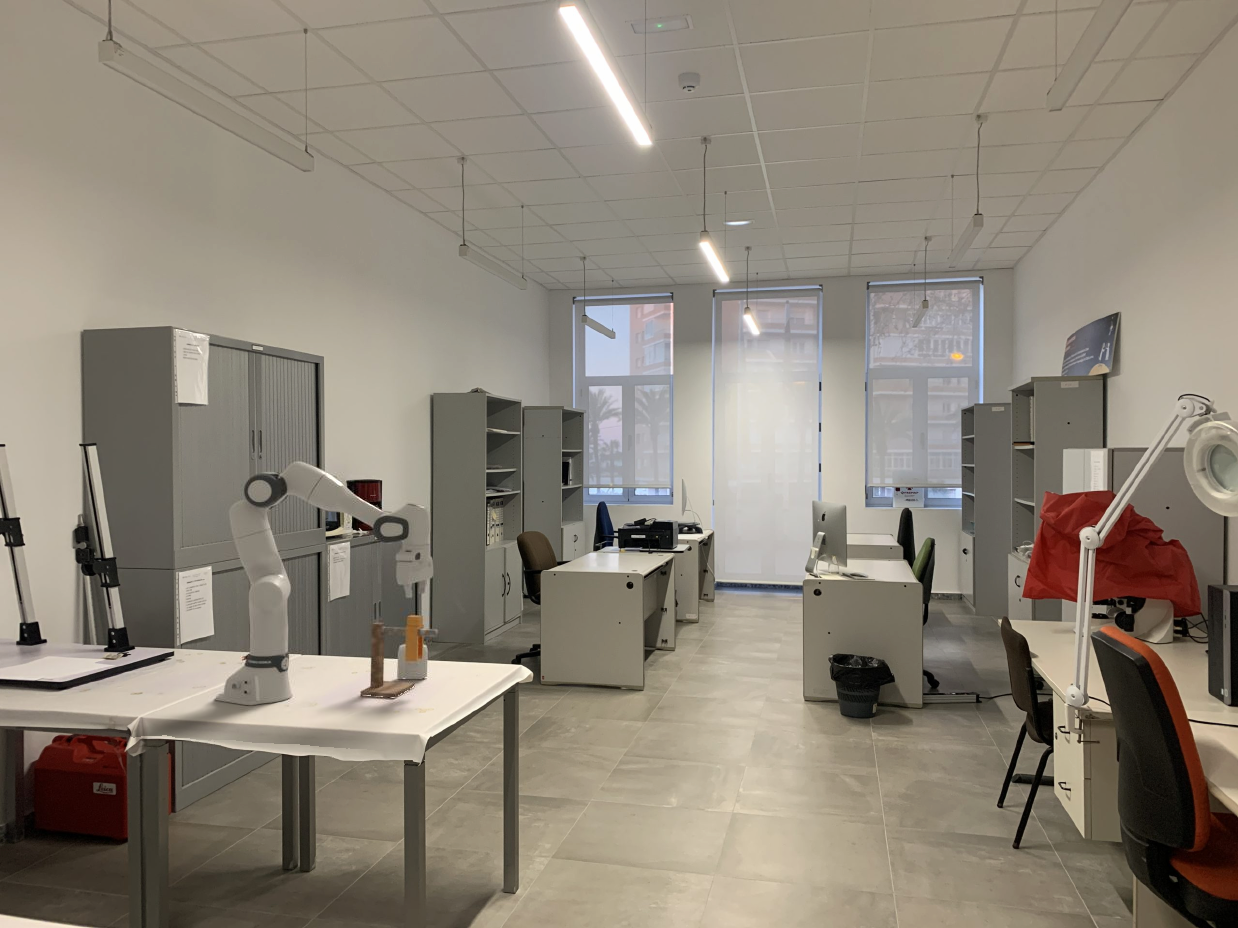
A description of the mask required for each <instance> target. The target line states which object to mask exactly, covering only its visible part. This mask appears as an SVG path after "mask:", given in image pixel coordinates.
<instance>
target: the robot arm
mask: <svg viewBox="0 0 1238 928" xmlns="http://www.w3.org/2000/svg"><path fill="white" fill-rule="evenodd" d="M243 488H244V489H243V493H244V494H243V495H244V497H245V498H244V499H241V500H239V501H238V500H237V501H236V502H235V503H234V504H232V505H231V506H230V508H229V511H228V514H229V523H230V528H231V529H230V530H231V533H232V537H233V540H234V541H233V542H234V544H235V546H236V550H237V554H238V557H239V561H240V563H241V565H242V566H243V569H244V570H245V573H246V575H247V577H248V579H249V583H250V585H251V586H250V589H249V591H248V613H249V625H250V628H249V629H250V635H249V639H250V640H249V653H248V654H246V655H244V656H242V657H241V658H242V659H241V661H245V662H244V665H243V666H242V667H240V668H239V669H238V670H236V671H235V672H234V673H232V674H231V675H230V676H229V677H228V678H227V679H226V681H225V684H224V689H223V691H222V692H220V693H218V694H217V695H216V696H215V701H218V702H225V703H230V704H231V703H232V704H238V705H243V706H244V705H246V706H255V705H260V704H268V703H269V704H270V703H276V702H281V701H284V700H287V699H290V698H291V697H293V693H292V690H291V685H290V677H289V666H290V652H289V650H288V648H289V621H288V620H289V617H288V599H289V597H290V594H291V591H292V590H291V589H292V587H291V586H292V585H291V583H290V580H289V576H288V574H287V571H286V568H285V567H284V563H283V560H282V558H281V556H280V554H279V550H278V548H277V545H276V542H275V538H274V535H273V532H272V529H271V525H270V523H269V522H270V521H269V519H268V512H269V510H271V509H273V508H275V507H276V506H277V505H280V504H281V503H283V502H284V501H285V500H286V499H287V498H288V496H289V495H291V496H295V497H297V498H299V499H301V500H303V501H305V502H307V504H310V505H312V506H314V507H317V508H319V509H322V510H325V511H327V512H337V513H342V514H346V515H350V516H352V517H353V518H355V519H357V520H359V521H361V522H363V523H364V524H366V525H368V526H370V527H371V528H372V534H373V536H374V538H376V540H377V541H379V542H380V543H382V544H387V545H388V544H394V543H396V542H397V543H398V542H402V547H401V549H400V550H399V551H398V552H397V553H396V555H395V560H396V569H395V570H396V581H397V584H398V585H400V586H403V589H404V591H405V592H404V593H405V598H406V599H410V598H412V597H414V596H413V595H414V594H413V593H414V592H413V590H412V587H413V585H412V584H415V583H418V582H419V583H420V584H419V588H418V592H417V593H418V594H419V595H420V594H421V595H422V594H425V593H426V588H427V585H428V580H430V579H432V578H433V576H434V564H433V563H434V561H433V557H432V556H431V541H430V533H431V515H430V510H429V508H427V506H424V505H421V504H418V503H417V504H416V503H406V504H405V505H403V506H401V507H400V508H398V509H395V510H394V511H388V510H387V511H386V510H383V509H380V508H378V507H376V506H375V505H373V504H372V503H371V504H370V503H369V502H367V501H366V500H363V499H362V498H360V497H359V496H357V495H356V494H354V492H352V490H350V489H349V488H348V487H347V486H346V485H345V484H343V483H342V482H341V481H340V480H339V479H337V478H336V477H334V476H333V475H332V474H329V473H328V472H326V471H324V470H322V469H321V468H319V467H316V466H314V465H312V464H309V463H306V462H304V461H300V460H299V461H298V460H297V461H293V462H292V463H290V464H289V465H288V466H287V467H285V469H284V470H283V471H282V473H280V472H277V471H263V472H259V473H256V474H254V475H252V476H251V477H249V478H248V480H247V481H246V482H245V484H244V487H243Z"/></svg>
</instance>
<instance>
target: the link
mask: <svg viewBox="0 0 1238 928" xmlns="http://www.w3.org/2000/svg"><path fill="white" fill-rule="evenodd" d="M423 618H424V616H423V615H418V614H417V615H415V614H414V615H413V614H411V615H408V616H407V617H406V626H405V628H406V635H405V644H406V647H405V661H413V662H417V661H418V659H423V645H424V637H425V636H418V630H419V629H425V628H424V627H425V624H423V623H424V622H423V621H424V619H423Z"/></svg>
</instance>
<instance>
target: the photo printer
mask: <svg viewBox="0 0 1238 928" xmlns="http://www.w3.org/2000/svg"><path fill="white" fill-rule="evenodd" d="M405 647H406V643H403V644H401V645H399V648H398V650H397V672H396V673H397V675H396V678H398V679H397V680H404V679H403V678H425V677H427V678H428V660H429V659H428V657H429V656H428V654H429V653H428V652H429V651H428V646H427V645H425V644H423V659H418V661H417V662H413V661H405Z"/></svg>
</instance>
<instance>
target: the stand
mask: <svg viewBox="0 0 1238 928" xmlns="http://www.w3.org/2000/svg"><path fill="white" fill-rule="evenodd" d="M438 634H439V632H438V629H436V628H435V629H432V628H424V629H419V630H418V636H424V637H427V638H429V637H430V638H437V637H438ZM385 635H389V636H390V635H392V636H393V635H394V636H396V635H397V636H406V627H397V626H396V627H395V626H385V622H377V621H376V622H374V623H372V624H371V641H370V642H371V644H370V647H371V649H370V686H369V687H366V688H365V689H362V690H360V695H371V696H383V697H397V696H398V695H400V694H401V693H404V692H405V691H407V690H409V689H410V688H412V687H413V686H414V687H415V682H405V681H404V682H403V681H392V680H391V681H389V680H384V670H385V669H384V668H385V667H384V665H385V664H384V663H385V662H384V661H385ZM409 691H410V690H409ZM407 692H408V691H407ZM404 694H405V693H404ZM400 696H401V695H400ZM397 698H398V697H397Z"/></svg>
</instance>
